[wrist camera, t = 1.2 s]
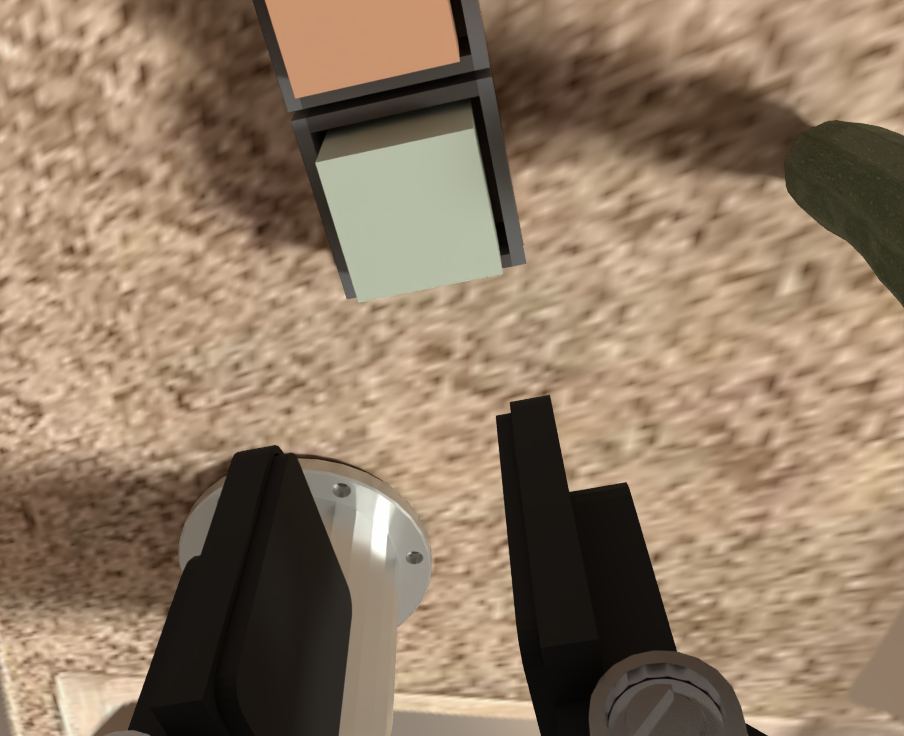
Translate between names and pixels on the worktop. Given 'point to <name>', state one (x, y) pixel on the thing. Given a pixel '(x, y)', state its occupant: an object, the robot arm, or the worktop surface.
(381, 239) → the sage key
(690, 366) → the worktop surface
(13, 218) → the worktop surface
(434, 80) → the gray compartment tray
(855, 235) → the vegetable
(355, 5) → the terracotta key
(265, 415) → the worktop surface
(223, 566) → the robot arm
